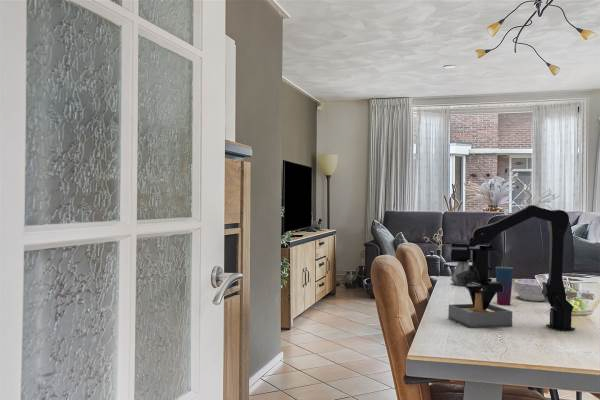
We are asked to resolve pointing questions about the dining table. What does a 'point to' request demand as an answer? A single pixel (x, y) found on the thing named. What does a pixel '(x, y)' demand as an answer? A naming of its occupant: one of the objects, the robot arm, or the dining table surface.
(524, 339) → the dining table surface
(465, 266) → the grey tied sack
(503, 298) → the cup
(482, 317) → the socket tray
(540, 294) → the paper bowls
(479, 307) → the peg
